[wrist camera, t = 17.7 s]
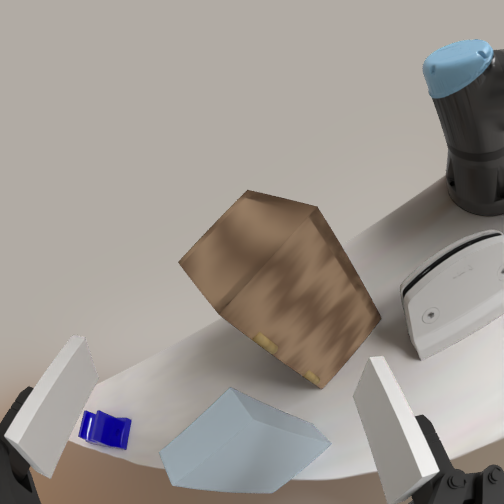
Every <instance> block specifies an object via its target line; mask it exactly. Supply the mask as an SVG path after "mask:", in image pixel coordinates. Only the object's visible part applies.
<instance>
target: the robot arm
mask: <svg viewBox="0 0 504 504" xmlns="http://www.w3.org/2000/svg"><path fill="white" fill-rule="evenodd" d="M423 74H424V77H425V80H426V83H427V85H428V89H429V95H430V96H431V97H432V99H433V102H434V105H435V108H436V110H437V113H438V116H439V119H440V122H441V126H442V129H443V132H444V136H445V139H446V142H447V146H448V158H447V170H446V182H447V187H448V191H449V194H450V196H451V198H452V200H453V201H454V202H455V203H456V204H457V205H458V206H460V207H461V208H463V209H464V210H466V211H468V212H471V213H474V214H478V215H486V216H491V215H499V214H503V213H504V49H503V50H493V49H492V47H491V46H490V45H489V44H488V43H487V42H486V41H483V40H478V39H475V40H464V41H459V42H456V43H452V44H449V45H447V46H444V47H442V48H440V49H438V50H436V51H435V52H433V53H432V54H430V55H429V56H428V57H427V58H426V60H425V61H424V64H423ZM98 379H99V377H98V374H97V372H96V369H95V366H94V363H93V360H92V357H91V354H90V350H89V347H88V344H87V341H86V337H82V336H77V335H72V337H71V338H70V339H69V340H68V342H67V343H66V344H65V346H64V347H63V348H62V350H61V351H60V353H59V354H58V355H57V356H56V358H55V359H54V361H53V362H52V363H51V365H50V366H49V368H48V369H47V370H46V372H45V373H44V375H43V376H42V377H41V379H40V380H39V382H38V383H37V385H36V386H35V388H32V387H27V388H26V389H25V390H23V391H22V392H21V393H20V394H19V396H18V397H17V399H16V400H15V402H14V403H13V404H12V406H11V409H9V411H8V412H7V414H6V415H5V417H4V418H3V420H2V422H1V423H0V504H41V502H40V500H39V497H38V494H37V491H36V488H35V485H34V482H33V478H32V475H31V473H30V471H29V467H30V466H32V467H33V468H34V469H35V470H36V471H37V472H38V473H40V474H42V475H44V476H46V477H48V478H50V479H51V477H52V475H53V472H54V470H55V467H56V465H57V463H58V461H59V458H60V456H61V454H62V452H63V449H64V447H65V445H66V443H67V441H68V439H69V437H70V434H71V432H72V430H73V428H74V426H75V424H76V422H77V420H78V418H79V416H80V414H81V412H82V410H83V408H84V406H85V404H86V402H87V400H88V398H89V396H90V394H91V392H92V390H93V388H94V387H95V385H96V383H97V381H98ZM353 398H354V401H355V404H356V406H357V409H358V412H359V415H360V418H361V421H362V424H363V427H364V430H365V433H366V436H367V439H368V442H369V445H370V448H371V451H372V454H373V458H374V461H375V464H376V467H377V470H378V474H379V477H380V480H381V483H382V487H383V490H384V494H385V497H386V501H387V504H396V503H400V502H403V501H405V500H406V499H408V497H410V496H412V499H413V500H412V501H411V502H410V503H409V504H504V471H503V470H502V468H501V467H499V466H498V465H490V466H488V467H487V468H486V469H485V470H484V471H482V472H478V473H469V474H465V473H464V472H463V471H461V470H459V469H454V468H453V466H452V464H451V462H450V460H449V458H448V456H447V453H446V451H445V449H444V447H443V445H442V443H441V441H440V440H439V437H438V435H437V433H435V432H436V431H435V429H434V427H433V425H432V423H431V422H430V421H429V420H428V419H427V418H426V417H425V416H424V415H419V416H414V414H413V412H412V410H411V408H410V406H409V404H408V402H407V400H406V398H405V396H404V394H403V392H402V390H401V388H400V386H399V384H398V383H397V381H396V379H395V377H394V375H393V373H392V371H391V369H390V367H389V366H388V364H387V362H386V360H385V358H384V356H376V357H369V359H368V361H367V364H366V366H365V369H364V371H363V374H362V376H361V379H360V381H359V383H358V386H357V388H356V390H355V393H354V395H353Z"/></svg>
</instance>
